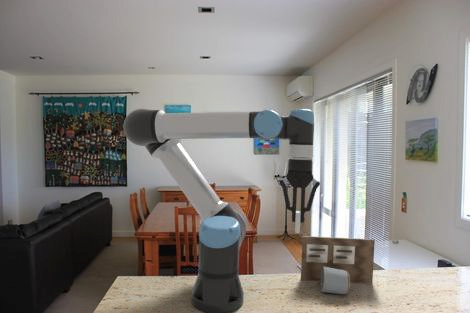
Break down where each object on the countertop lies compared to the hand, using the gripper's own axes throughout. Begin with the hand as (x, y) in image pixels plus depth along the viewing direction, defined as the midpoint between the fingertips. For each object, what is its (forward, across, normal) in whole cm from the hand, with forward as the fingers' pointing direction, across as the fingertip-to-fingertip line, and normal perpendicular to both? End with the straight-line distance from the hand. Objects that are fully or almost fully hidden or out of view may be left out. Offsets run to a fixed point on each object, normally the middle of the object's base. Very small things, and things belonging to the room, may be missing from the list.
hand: (297, 232), depth 101 cm
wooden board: (+18, -14, -9) cm, 24 cm away
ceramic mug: (+19, -12, -2) cm, 22 cm away
